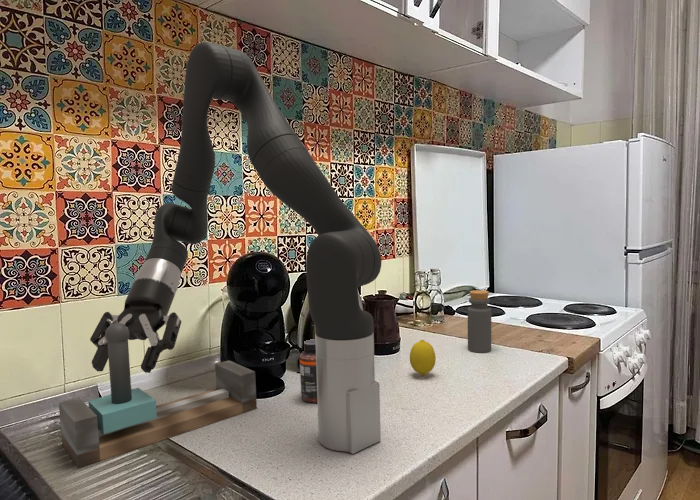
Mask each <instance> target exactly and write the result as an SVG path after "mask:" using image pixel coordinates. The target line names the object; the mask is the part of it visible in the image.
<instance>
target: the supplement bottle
mask: <svg viewBox="0 0 700 500" xmlns="http://www.w3.org/2000/svg"><path fill="white" fill-rule="evenodd" d="M299 375H300V379H299V380H300V395H301V399H302V400H303V401H305V402H308V403H317V373H316V340H315V339H310V340H306V341H304V351H302V352H301V353H300V354H299Z"/></svg>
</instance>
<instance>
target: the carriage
mask: <svg viewBox="0 0 700 500" xmlns="http://www.w3.org/2000/svg"><path fill="white" fill-rule="evenodd" d="M129 334H130V333H129V329H128V327H127V326H126V325H124V324H121V323H115V324H112V325H110V326H109V327H108V328H107V329H106V332H105V339H106V341H107V343H108V370H109V383H110V394H109V395H105V396H101V397H97V398H92V399H89V400H88V403H87V404H88V407H89V408H90V409H91V410H92V411H93V412H94V413H95V414H96V415H97V422H98V428H99V429H100V430H101V431H102V432H103V434H106V433H109V432H112V431H116V430H119V429H122V428H126V427H129V426H132V425H135V424H139V423H142V422H145V421H149V420H152V419H155V418H157V414H156V406H157V403H156V402H157V400H156V399H154V398H153V396H151V395H149V394H148V393H147V392H145V391H144V390H143V389H141V388H140V387H136V388H132V382H131V381H132V380H131V367H130V366H131V365H130V352H129V351H130V350H129V339H128V338H129Z"/></svg>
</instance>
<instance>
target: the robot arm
mask: <svg viewBox="0 0 700 500" xmlns="http://www.w3.org/2000/svg"><path fill="white" fill-rule="evenodd" d="M191 49H192V50H191V52H190V54H189V56H188V59H187V63H186V69H185V75H184V86H183V87H184V88H183V102H182V121H181V136H180V137H181V139H180V146H179V152H178V157H177V162H176V166H175V168H174V173H173V178H172V183H171V193H172V195H173V196H175V197H176V198H177V199H179V200H180V201H182V202H184V203H185V204H186V205H188V206H189V207H186V206H183V205H179V204H177V203H174V202H173V203H172V202H166V203H164V204H162V205H160V206H159V207H158V208H157V209H156V212H155V215H154V223H153V225H154V226H153V239H152V242H151V245H150V248H149V251H148V252H147V255H146V258H145V260H144V262H143V264H142V265H141V266H140V268H139V270H138V272H137V274H136V276H135V278H134V281H133V283H132V286H131V287H130V289H129V292H128V294H127V297H126V298H125V300H124V306H123V310H122V312H121V313H119V315H118V314H111V312H110V311H105V312H104V313H103V314H102V315H101V318H100V320H99V322H98V323H97V325H96V327H95V329H94V331H93V333H92V335H91V336H90V338H89V341H90V342H91V343H92V344H93V345H94V346H95V347H96V348H97V349H96V352H95V353H94V356H93V358H92V359H91V365H92V368H93V370H95V371H97V372H103V371H104V369H105V367H106V364H107V363H108V361H109V358H108V343H107V341H106V339H105V332H106V329H107V328H108V327H109V326H110V325H112V324H115V323H121V324H124V325H126V326H127V327H128V329H129V333H130V334H129V338H128V341H134V340H140V341H146V340H147V339H148V341H149V344H150V346H148V347H147V349H146V351H145V355H144V357H143V359H142V362H141V364H140V368H141V371H143V372H144V373H145V374H147V373H149V374H150V373H152V370H154V369H155V368H156V366H157V364H158V359H159V357H160V355H161V353H162V352H164V350H168V351H172V350H173V349H175V346H176V342H177V339H178V337H179V332H180V328H181V325H182V320H181V319H180V316H179V315H178V314H177V313H176V312H175V311H174V312H171V313H170V314H169V312H170V309H171V306H172V304H173V301H174V298H175V295H176V293H177V291H178V287H179V284H180V280H181V277H182V274H183V270H184V268H185V265H186V263H187V260H188V256H189V251H188V249H187V248H186V246H185V245H184V244H183V243H185V244H189V245H198V244H200V243H201V242H203V240H205V238H206V236H207V233H208V228H209V219H208V218H209V217H208V216H209V215H208V196H209V192H210V188H211V184H212V180H213V177H214V173H215V172H214V171H215V169H216V156H215V151H214V146H213V143H212V140H211V136H210V131H209V126H208V115H209V110H210V106H211V103H212V100H213V99H215V100H219V101H220V100H221V101H228V102H230V103H232V104H233V105H234V106H235V107H236V108H237V109H238V111H239V112H240V114H241V115H242V117H243V119H244V120H245V123H246V125H247V136H246V150H247V155H248V159H249V161H250V163H251V165H252V167H253V168H254V170H255V172H256V173H257V175H258V177H259V178H260V179H261V181H262V182H263V184H264V185H265V188H267V189H268V190H269V191H270V193H271V194H272V195H274V196H275V197H276V198H277V199H278V200H279V201H281V202H282V203H283V204H284V205H286V206H287V207H288V208H289V209H291V210H292V211H294V212H295V213H296V214H297V215H299V216H300V217H302V219H303V220H305V221H306V222H307V223H308V224H309V226H310V227H311V228H313V230H314V231H315V232H316V235H317V236H316V237H315V238H314V239H313V240H312V241H311V243H310V244H309V247H308V250H307V253H306V257H305V258H306V259H305V274H306V286H307V287H306V289H307V298H308V299H307V300H308V310H309V313H310V318H311V319H312V323H313V324H314V325H313V326H315V340H316V373H317V402H316V404H317V422H318V423H317V424H318V425H317V426H318V441H319V443H320V444H321V445H322V447H325V448H327V449H329V450H333V451H338V452H347V453H350V454H355V453H358V452H360V451H362V450H364V449H367V448H369V447H370V446H373V445H375V444H376V443H379V442H381V440H382V437H381V436H382V435H381V433H382V432H381V399H380V396H381V395H380V393H381V392H380V390H381V388H380V383H379V381H376V380H375V379H376V378H375V375H376V373H375V333H374V332H375V330H374V329H375V328H374V327H375V325H374V317H373V315H372V313H370V312H369V311H366V310H364V309H362V308H361V306H360V299H359V289H358V288H360V287H363V286H365V285H368V284H370V283H373V281H375V280H376V279H377V278H378V276H379V274H380V273H381V268H382V255H381V252H380V248H379V246H378V244H377V242H376V241H375V239H374V238H373V236H372V235H371V234H370V232H368V230H367V229H366V228H365V227H364V225H363V224H362V223H361V222H360V221H359V220H358V218H357V217H356V216H355V215H354V214H353V213H352V211H350V209H349V208H348V207H347V205H346V204H345V203H344V202H343V201H342V199H341V197H340V196H339V195H338V194H337V192H336V191H335V189H334V188H333V186H332V184H331V183H330V182H329V180H328V179H327V178H326V176H325V175H324V173H323V172H322V171H321V169H320V167H319V166H318V164H317V163H316V161H315V160H314V158H313V156H312V155H311V154H310V152H309V150H308V149H307V148H306V146H305V145H304V143H303V141H302V140H301V138H300V137H299V136H298V135H297V133H296V131H294V129H293V128H292V125H291V124H290V123H289V122H288V120H287V118H285V116H284V114H283V112H282V110H281V109H280V108H279V107H278V105H277V104H276V102H275V100H274V99H273V97H272V95H271V94H270V92H269V90H268V88H267V86H266V84H265V82H264V81H263V78H262V76H261V74H260V72H259V70H258V69H257V67H256V65H255V63H254V62H253V60H252V58H250V57H249V56H248V55H247V54H246V53H245V52H243V51H241V50H240V49H236V48H233V47H229V46H225V45H221V44H217V43H214V42H208V41H202V42H199V43H197V44H196V45H195V46H194V47H193V48H191ZM182 242H183V243H182ZM168 314H169V315H168ZM164 326H165V329H164V331H163V335H162V338H160V336H159V333H158V331H159V330H160V329H161V328H162V327H164Z"/></svg>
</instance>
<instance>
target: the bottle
mask: <svg viewBox="0 0 700 500" xmlns="http://www.w3.org/2000/svg"><path fill="white" fill-rule="evenodd" d="M489 293H490V291H488V290H484V289H479V290H478V289H477V290H475V289H473V290H470V291H469V294H470V295H469V296H470V297H469V298H468V303H469V304H470V305H471V306H469V307H468V308H467V349H468V351H469V352H472V353H477V354H483V353H490V352H491V351H492V308H491V307H489V306H488V304H490V303H491V302H490V301H491V299H490V298H489V295H490V294H489Z"/></svg>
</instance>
